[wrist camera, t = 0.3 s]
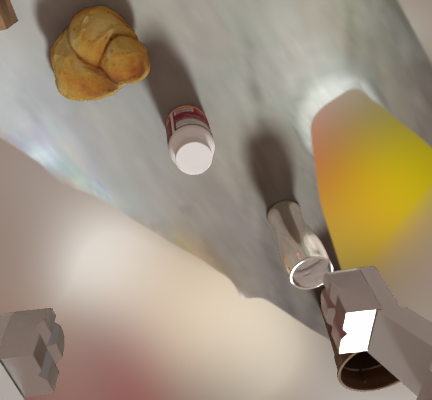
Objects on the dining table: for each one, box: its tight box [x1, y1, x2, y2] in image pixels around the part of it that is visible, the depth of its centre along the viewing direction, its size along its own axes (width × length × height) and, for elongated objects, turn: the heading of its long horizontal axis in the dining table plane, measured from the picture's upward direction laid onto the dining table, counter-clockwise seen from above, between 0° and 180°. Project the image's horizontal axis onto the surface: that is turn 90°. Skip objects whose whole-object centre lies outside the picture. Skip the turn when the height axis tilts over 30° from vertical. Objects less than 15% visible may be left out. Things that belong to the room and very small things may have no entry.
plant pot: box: [320, 305, 401, 392], centre depth 81 cm, size 16×16×16 cm
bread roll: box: [50, 6, 150, 101], centre depth 49 cm, size 13×10×8 cm
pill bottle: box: [166, 105, 215, 175], centre depth 55 cm, size 6×6×11 cm
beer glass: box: [267, 200, 333, 290], centre depth 66 cm, size 7×7×15 cm
